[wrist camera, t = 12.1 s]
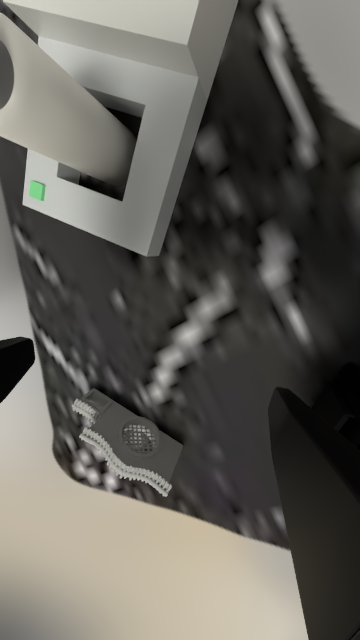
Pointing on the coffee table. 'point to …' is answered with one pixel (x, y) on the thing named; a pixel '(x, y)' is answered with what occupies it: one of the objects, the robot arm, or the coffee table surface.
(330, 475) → the robot arm
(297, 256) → the coffee table surface
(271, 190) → the coffee table surface
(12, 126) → the plug
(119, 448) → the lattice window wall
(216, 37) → the jack housing
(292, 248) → the coffee table surface
